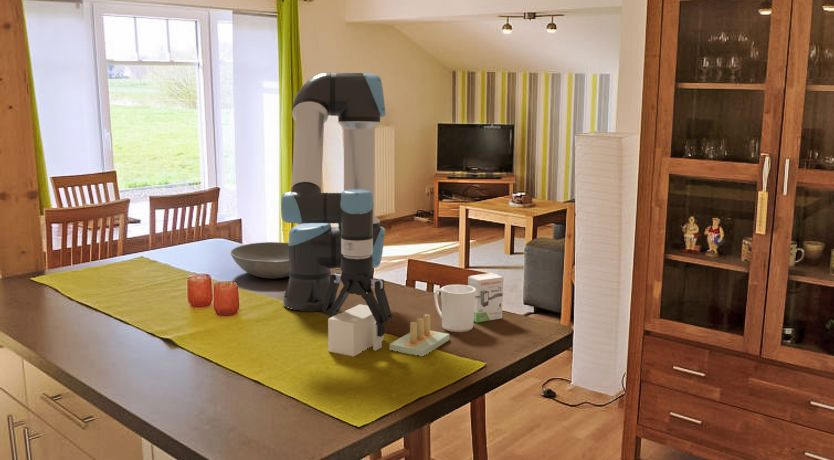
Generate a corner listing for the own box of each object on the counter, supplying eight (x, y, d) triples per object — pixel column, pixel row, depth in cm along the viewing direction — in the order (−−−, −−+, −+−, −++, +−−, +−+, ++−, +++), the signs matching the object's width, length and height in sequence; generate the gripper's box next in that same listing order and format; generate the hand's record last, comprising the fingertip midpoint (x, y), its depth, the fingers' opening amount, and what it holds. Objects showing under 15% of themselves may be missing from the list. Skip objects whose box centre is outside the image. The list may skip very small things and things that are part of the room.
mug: (478, 324, 207) (479, 286, 205) (469, 334, 199) (470, 295, 197) (438, 319, 211) (439, 282, 209) (428, 329, 202) (428, 290, 201)
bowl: (216, 283, 245) (216, 257, 243) (250, 263, 272) (249, 239, 270) (301, 288, 240) (300, 262, 239) (326, 267, 268) (326, 243, 266)
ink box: (476, 323, 208) (478, 280, 206) (466, 318, 213) (467, 276, 210) (502, 318, 213) (504, 276, 211) (491, 313, 217) (493, 272, 215)
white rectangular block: (353, 356, 182) (353, 323, 180) (328, 351, 185) (328, 318, 184) (384, 339, 194) (384, 308, 193) (359, 335, 197) (359, 304, 196)
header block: (389, 350, 187) (389, 323, 185) (417, 333, 199) (417, 309, 197) (423, 356, 182) (423, 329, 181) (449, 339, 195) (449, 314, 193)
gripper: (306, 252, 187) (307, 341, 191) (392, 264, 177) (391, 357, 181) (324, 247, 194) (325, 332, 198) (407, 258, 183) (406, 348, 187)
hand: (356, 344), depth 189 cm, fingers open, 11 cm apart
